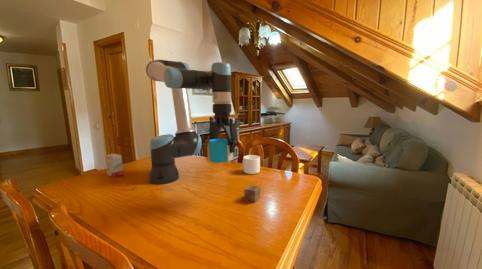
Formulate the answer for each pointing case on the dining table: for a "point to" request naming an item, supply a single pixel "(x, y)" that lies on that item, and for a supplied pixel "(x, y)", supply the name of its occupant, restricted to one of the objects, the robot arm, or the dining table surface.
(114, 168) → the ink box
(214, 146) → the mug
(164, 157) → the robot arm
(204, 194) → the dining table surface
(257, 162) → the mug
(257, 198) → the walnut cube
